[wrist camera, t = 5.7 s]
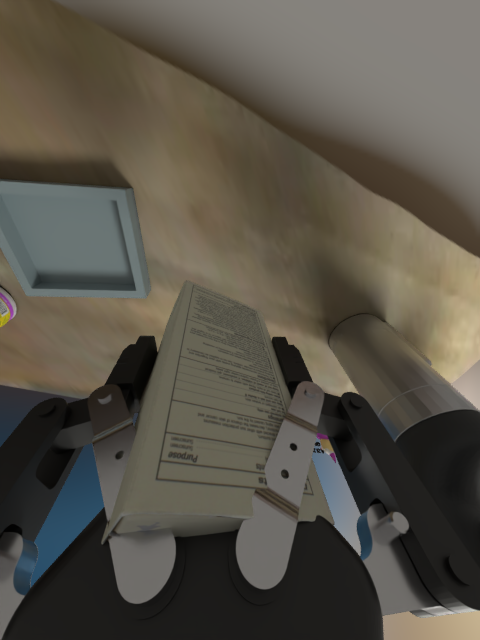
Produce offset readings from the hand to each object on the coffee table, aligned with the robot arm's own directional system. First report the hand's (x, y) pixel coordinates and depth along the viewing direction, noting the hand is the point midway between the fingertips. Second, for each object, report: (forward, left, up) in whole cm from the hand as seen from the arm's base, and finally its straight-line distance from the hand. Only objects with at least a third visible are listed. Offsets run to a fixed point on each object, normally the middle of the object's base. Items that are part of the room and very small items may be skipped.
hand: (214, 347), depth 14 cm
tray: (+16, -1, -18) cm, 24 cm away
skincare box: (0, 0, -4) cm, 4 cm away
